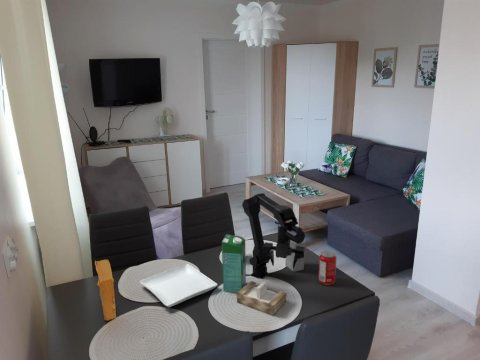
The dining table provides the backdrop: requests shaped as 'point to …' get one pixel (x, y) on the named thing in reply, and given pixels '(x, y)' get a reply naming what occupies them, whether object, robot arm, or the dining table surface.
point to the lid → (261, 292)
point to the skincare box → (290, 258)
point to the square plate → (178, 284)
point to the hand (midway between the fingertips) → (283, 266)
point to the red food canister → (327, 267)
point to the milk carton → (233, 263)
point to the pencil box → (261, 305)
